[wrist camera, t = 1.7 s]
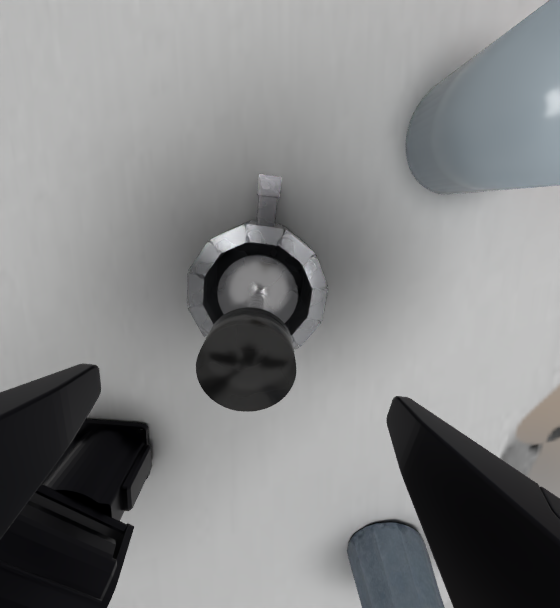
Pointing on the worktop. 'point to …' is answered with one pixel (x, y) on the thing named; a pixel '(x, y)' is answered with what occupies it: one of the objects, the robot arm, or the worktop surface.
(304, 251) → the press carafe
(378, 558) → the moka pot
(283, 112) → the worktop surface
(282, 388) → the plunger
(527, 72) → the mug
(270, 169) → the worktop surface
